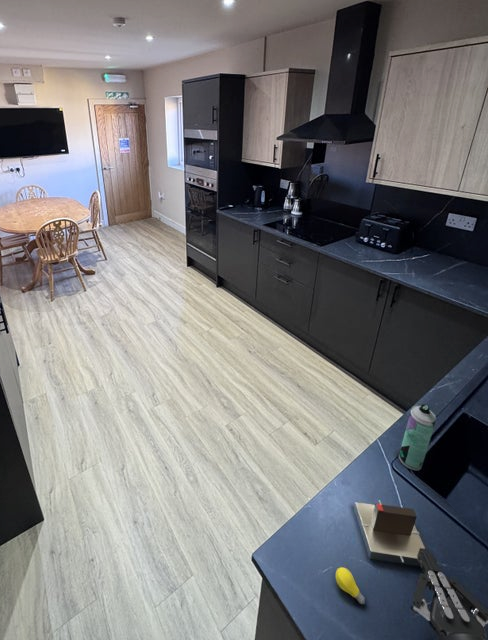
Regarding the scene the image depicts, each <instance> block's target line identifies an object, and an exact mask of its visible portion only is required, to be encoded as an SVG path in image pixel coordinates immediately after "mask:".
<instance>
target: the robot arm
mask: <svg viewBox="0 0 488 640" xmlns="http://www.w3.org/2000/svg"><path fill="white" fill-rule="evenodd" d="M417 559H418V561H419V563H420V566H421V567H420V566H419V567H420V568H421V570H422V572H421V573H419V576H418V579H417V581H416V584H415V588H414V593H413V596H412V598H411V602H410V609H411V611H412V613H414V614H416V615H417V614H420V615H421V616H422V617H423V618H424V619H425V620H426V621H428V625H429V627H430V628H431V630H432V631H433V633H434V634H435V636H436V638H437V640H488V637H487V632H486V629H485V627H486V626H487V625H488V609H487V608H485V607H484V606H483V605H482V603H480V602H479V601H478V600H477V599H476V598H475V597H474V596H473V595H472V594H471V593H470V592H469V591H468V590H467V589H466V588H465V587H464V586H463V585H461V584H460V582H459V581H458V580H456V579H455V578H454V577H450V578H449V577H447V576H446V575H445V574H444V573H443V572H442V570H441V568H440V566H439V563H438V562H437V559H436V557H435V555H434V554H433V553H432V552H430V550H429V549H428V548H425V549H423V548H420V549H419V552H418V555H417ZM426 588H428V592H429V598H430V600H431V602H430V607H429V608H428V604H427V601H426V599H425V598H424V596H425V591H426Z"/></svg>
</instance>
